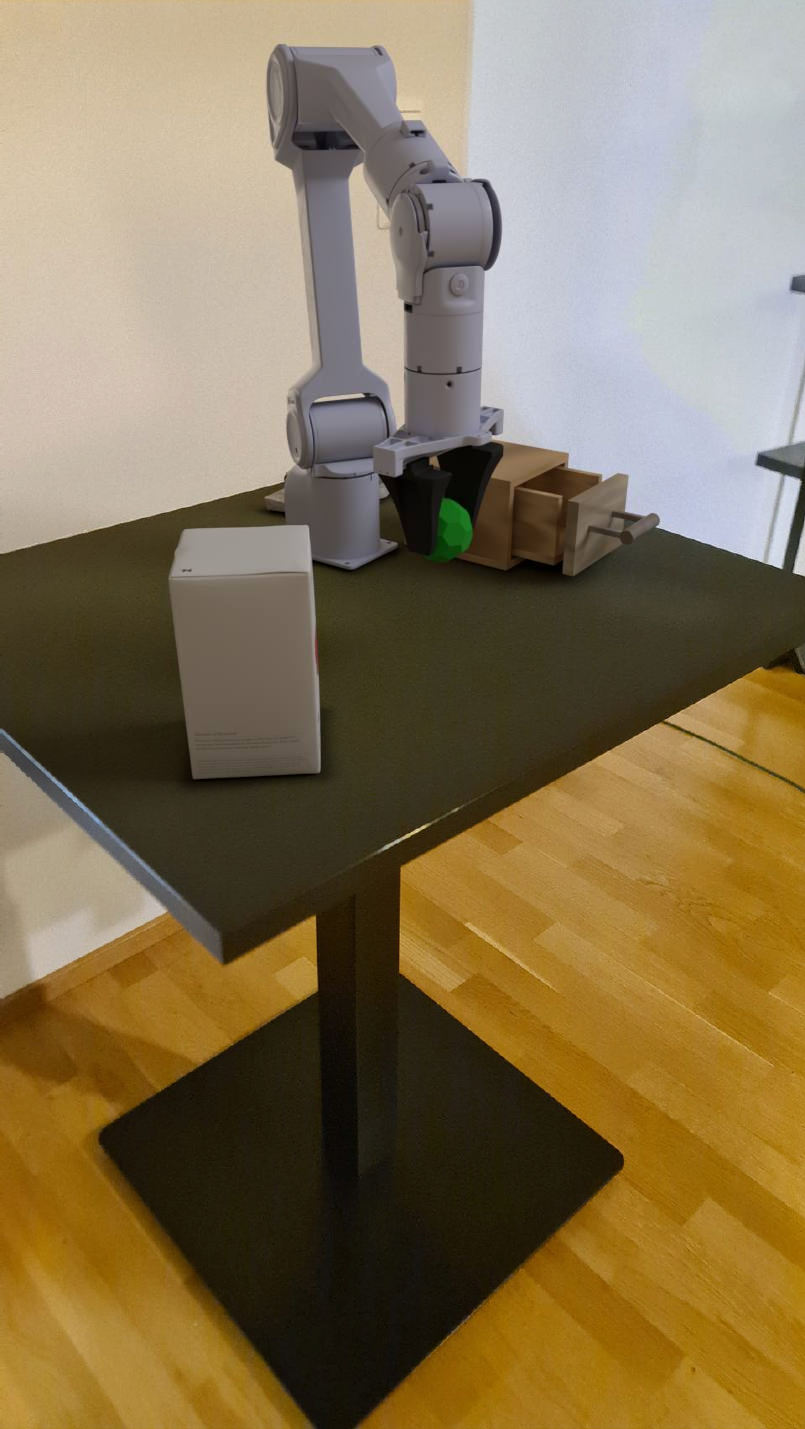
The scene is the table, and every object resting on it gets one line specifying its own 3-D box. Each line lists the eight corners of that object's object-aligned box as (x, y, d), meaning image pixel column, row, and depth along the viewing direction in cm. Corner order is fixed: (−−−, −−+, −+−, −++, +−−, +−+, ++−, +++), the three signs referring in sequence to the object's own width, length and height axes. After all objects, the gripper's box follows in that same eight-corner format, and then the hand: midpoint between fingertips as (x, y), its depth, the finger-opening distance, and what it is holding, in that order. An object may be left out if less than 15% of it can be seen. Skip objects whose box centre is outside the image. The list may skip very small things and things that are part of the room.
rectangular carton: (323, 776, 70) (312, 571, 62) (191, 783, 69) (163, 577, 62) (321, 710, 78) (311, 521, 70) (202, 715, 77) (179, 526, 70)
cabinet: (563, 537, 109) (569, 453, 105) (506, 571, 101) (510, 481, 97) (464, 514, 116) (466, 434, 111) (404, 544, 108) (403, 459, 103)
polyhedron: (407, 548, 84) (406, 492, 82) (465, 545, 85) (467, 490, 82) (414, 571, 80) (414, 513, 78) (476, 568, 81) (478, 510, 78)
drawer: (664, 554, 102) (673, 483, 99) (618, 587, 95) (625, 512, 92) (524, 522, 111) (528, 456, 107) (472, 551, 104) (474, 481, 100)
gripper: (429, 392, 68) (428, 582, 75) (540, 356, 78) (530, 526, 85) (347, 379, 72) (353, 561, 78) (463, 346, 81) (459, 510, 88)
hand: (440, 542), depth 82 cm, fingers closed on polyhedron, 5 cm apart
